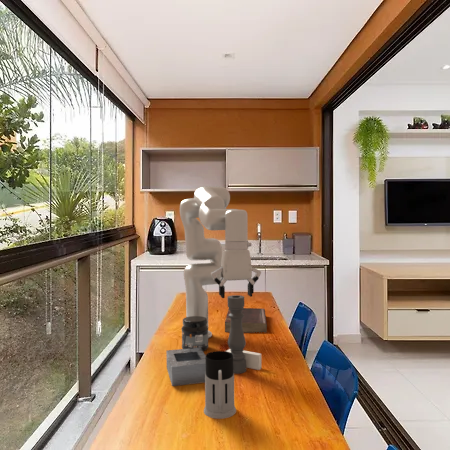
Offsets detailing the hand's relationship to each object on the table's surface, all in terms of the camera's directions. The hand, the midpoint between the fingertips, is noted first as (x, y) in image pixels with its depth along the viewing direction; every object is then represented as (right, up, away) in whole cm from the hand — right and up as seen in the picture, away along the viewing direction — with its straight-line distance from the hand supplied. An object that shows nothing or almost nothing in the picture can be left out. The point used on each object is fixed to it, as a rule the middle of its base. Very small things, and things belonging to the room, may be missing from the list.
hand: (236, 296), depth 139 cm
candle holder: (0, -25, 0) cm, 25 cm away
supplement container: (-16, -25, +23) cm, 37 cm away
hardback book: (+6, -24, +60) cm, 65 cm away
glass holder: (-5, -26, -31) cm, 41 cm away
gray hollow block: (-16, -25, -3) cm, 30 cm away
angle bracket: (0, -25, +3) cm, 25 cm away
